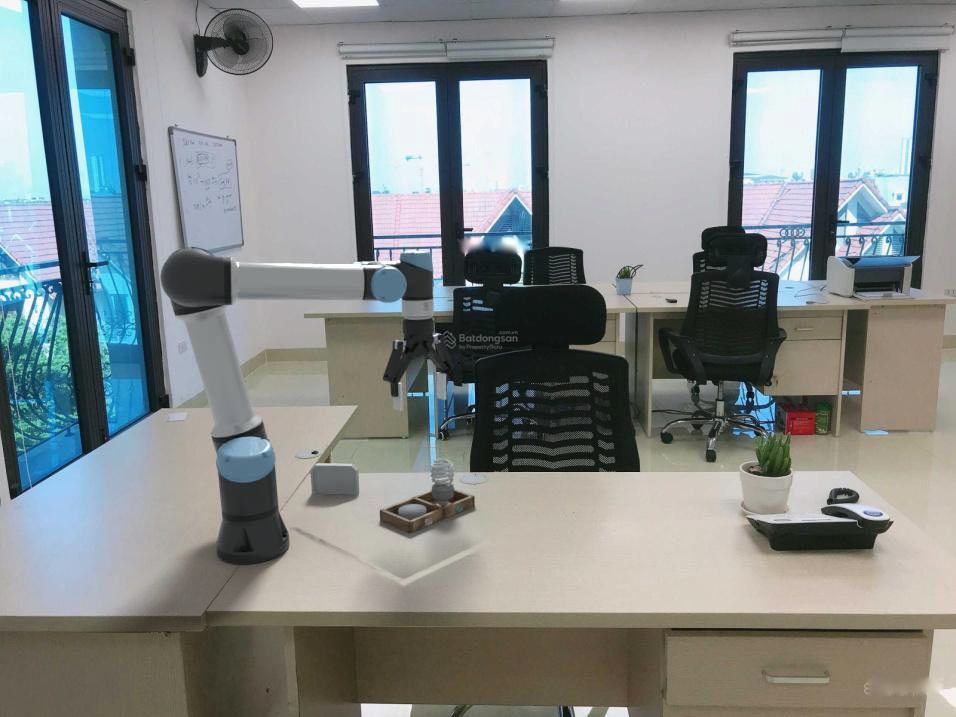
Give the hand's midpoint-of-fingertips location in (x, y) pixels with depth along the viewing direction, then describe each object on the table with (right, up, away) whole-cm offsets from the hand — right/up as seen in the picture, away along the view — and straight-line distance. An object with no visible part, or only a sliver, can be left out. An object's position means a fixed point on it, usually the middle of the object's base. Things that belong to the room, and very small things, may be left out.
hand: (420, 404), depth 186 cm
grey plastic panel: (-23, -24, +11) cm, 34 cm away
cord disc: (-1, -26, -9) cm, 27 cm away
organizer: (+2, -26, -5) cm, 27 cm away
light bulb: (+6, -25, -2) cm, 25 cm away
